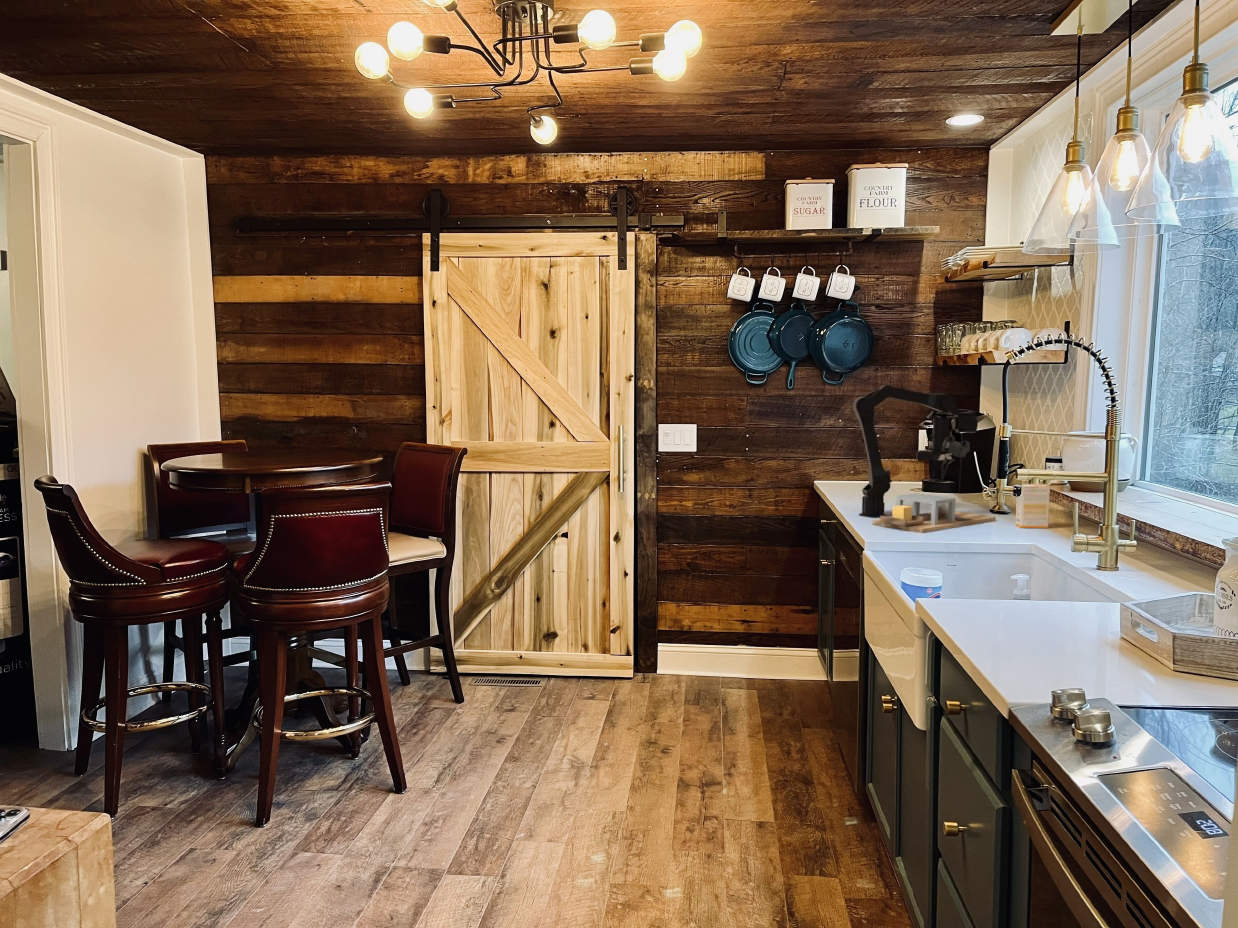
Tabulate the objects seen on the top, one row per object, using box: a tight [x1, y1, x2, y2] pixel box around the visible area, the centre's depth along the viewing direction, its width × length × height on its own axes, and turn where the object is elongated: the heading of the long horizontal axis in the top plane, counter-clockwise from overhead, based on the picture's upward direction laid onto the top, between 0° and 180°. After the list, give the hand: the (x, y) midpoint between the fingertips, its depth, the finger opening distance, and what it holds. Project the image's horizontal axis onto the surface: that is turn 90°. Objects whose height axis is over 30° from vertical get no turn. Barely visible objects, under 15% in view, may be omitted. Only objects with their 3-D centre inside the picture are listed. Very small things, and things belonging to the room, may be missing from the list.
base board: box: [871, 510, 997, 534], centre depth 272 cm, size 18×38×1 cm, turn 125°
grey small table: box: [895, 493, 956, 525], centre depth 269 cm, size 14×10×8 cm
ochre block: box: [891, 504, 913, 521], centre depth 263 cm, size 4×4×4 cm
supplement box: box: [1015, 483, 1051, 529], centre depth 264 cm, size 8×5×13 cm, turn 84°
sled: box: [879, 495, 952, 526], centre depth 268 cm, size 9×26×6 cm, turn 125°
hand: (940, 480), depth 282 cm, fingers closed
